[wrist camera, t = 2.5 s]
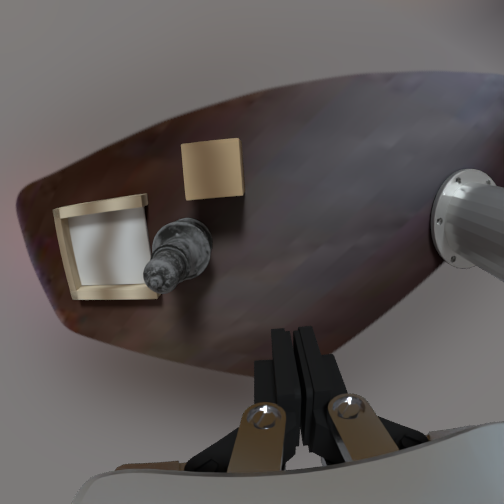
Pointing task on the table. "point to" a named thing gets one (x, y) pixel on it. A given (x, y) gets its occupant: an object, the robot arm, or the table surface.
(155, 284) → the grey chess piece
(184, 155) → the oak block
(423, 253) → the table surface
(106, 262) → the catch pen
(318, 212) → the table surface
